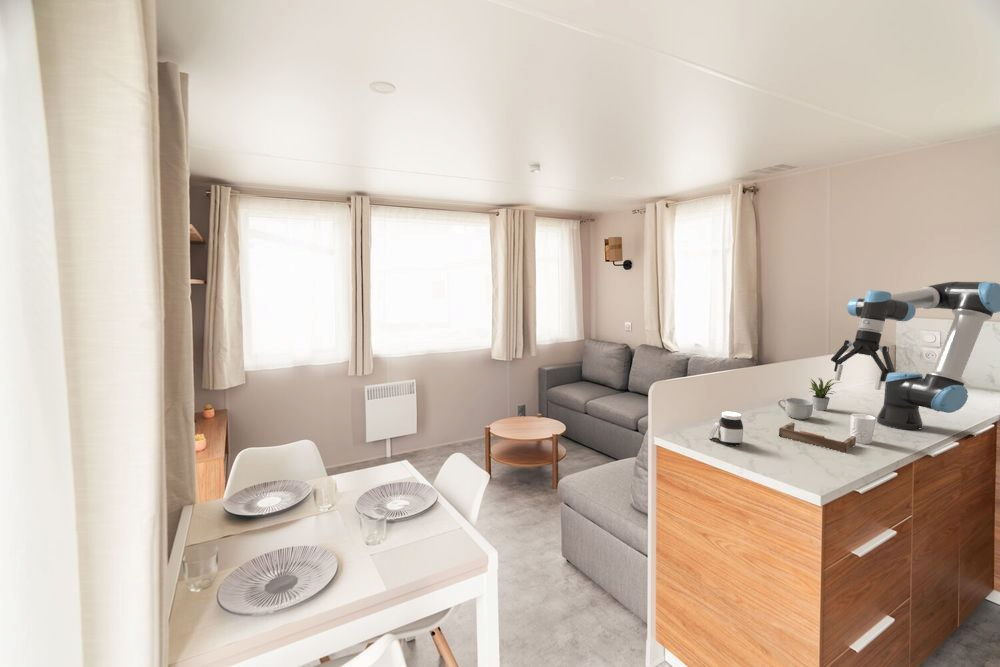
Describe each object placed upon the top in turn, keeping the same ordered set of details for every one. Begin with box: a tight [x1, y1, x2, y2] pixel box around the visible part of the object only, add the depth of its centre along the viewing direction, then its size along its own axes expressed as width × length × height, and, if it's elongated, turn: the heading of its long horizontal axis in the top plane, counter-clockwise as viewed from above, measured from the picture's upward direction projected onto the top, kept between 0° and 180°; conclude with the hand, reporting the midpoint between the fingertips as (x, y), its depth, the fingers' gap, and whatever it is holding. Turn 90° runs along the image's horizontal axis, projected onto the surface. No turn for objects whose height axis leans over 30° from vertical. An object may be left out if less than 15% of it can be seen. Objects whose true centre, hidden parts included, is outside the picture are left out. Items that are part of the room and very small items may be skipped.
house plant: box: [809, 377, 842, 412], centre depth 227 cm, size 14×14×16 cm
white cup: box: [849, 413, 877, 445], centre depth 184 cm, size 8×8×10 cm
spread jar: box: [707, 410, 744, 447], centre depth 183 cm, size 12×11×12 cm
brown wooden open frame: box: [778, 421, 857, 454], centre depth 185 cm, size 12×22×4 cm, turn 38°
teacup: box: [777, 397, 814, 420], centre depth 216 cm, size 14×11×8 cm
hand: (856, 384), depth 182 cm, fingers open, 13 cm apart
